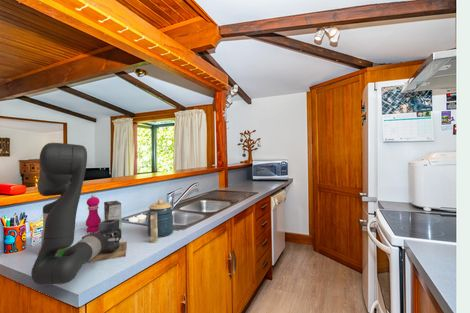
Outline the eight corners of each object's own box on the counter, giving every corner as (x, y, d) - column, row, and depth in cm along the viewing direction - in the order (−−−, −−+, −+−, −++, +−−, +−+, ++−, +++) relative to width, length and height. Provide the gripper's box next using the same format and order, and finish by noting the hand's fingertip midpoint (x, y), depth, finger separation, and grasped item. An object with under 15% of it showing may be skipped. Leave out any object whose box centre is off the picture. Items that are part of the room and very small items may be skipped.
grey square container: (99, 253, 91) (98, 223, 91) (107, 246, 98) (107, 218, 98) (113, 252, 92) (112, 223, 92) (120, 245, 98) (120, 218, 98)
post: (151, 242, 105) (150, 213, 105) (152, 240, 107) (152, 211, 107) (156, 242, 105) (155, 213, 105) (157, 240, 108) (157, 211, 107)
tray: (89, 262, 86) (89, 257, 86) (94, 250, 98) (94, 246, 98) (125, 256, 91) (125, 251, 91) (126, 245, 103) (126, 241, 103)
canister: (157, 239, 109) (156, 203, 109) (142, 234, 117) (141, 200, 117) (178, 232, 119) (178, 198, 119) (163, 227, 127) (163, 196, 127)
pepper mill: (83, 231, 123) (82, 194, 123) (97, 227, 129) (96, 192, 129) (89, 233, 119) (88, 195, 119) (103, 230, 125) (103, 193, 125)
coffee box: (104, 231, 122) (103, 201, 122) (117, 229, 126) (116, 200, 126) (108, 236, 115) (107, 204, 115) (122, 233, 119) (121, 202, 119)
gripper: (110, 235, 81) (129, 221, 97) (68, 237, 80) (94, 223, 96) (110, 256, 81) (129, 239, 97) (68, 258, 80) (95, 240, 96)
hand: (112, 231), depth 97 cm, fingers closed on grey square container, 5 cm apart
